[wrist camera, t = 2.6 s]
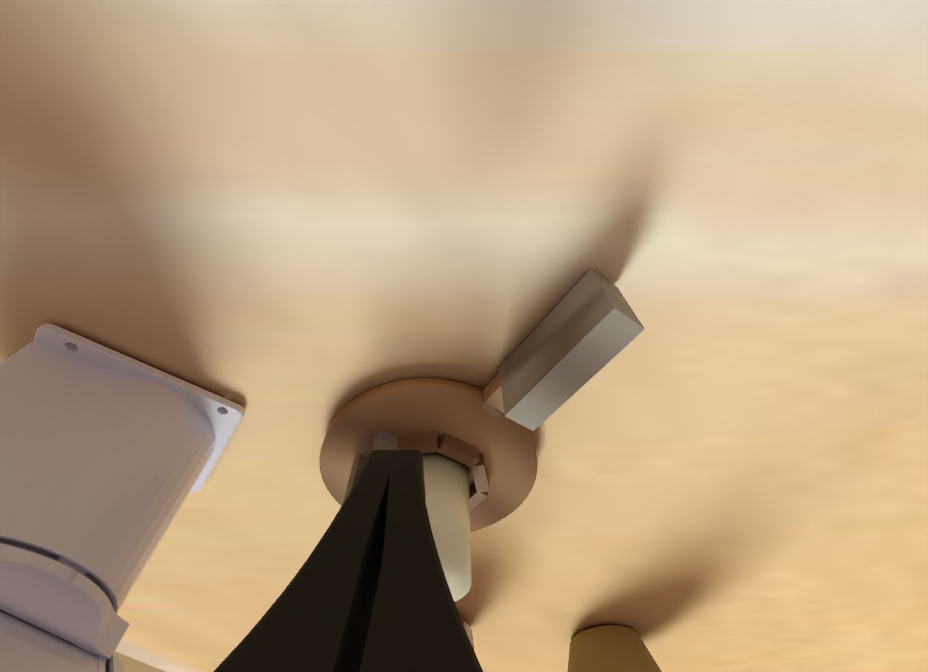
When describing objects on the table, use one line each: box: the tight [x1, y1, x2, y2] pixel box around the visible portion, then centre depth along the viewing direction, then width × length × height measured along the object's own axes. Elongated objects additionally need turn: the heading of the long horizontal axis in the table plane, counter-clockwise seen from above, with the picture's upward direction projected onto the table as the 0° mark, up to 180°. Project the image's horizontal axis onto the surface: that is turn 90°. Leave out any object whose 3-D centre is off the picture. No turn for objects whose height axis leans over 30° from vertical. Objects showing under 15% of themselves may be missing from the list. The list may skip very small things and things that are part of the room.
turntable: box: [320, 269, 644, 532], centre depth 22 cm, size 20×12×4 cm, turn 145°
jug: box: [422, 452, 472, 602], centre depth 22 cm, size 6×4×6 cm
